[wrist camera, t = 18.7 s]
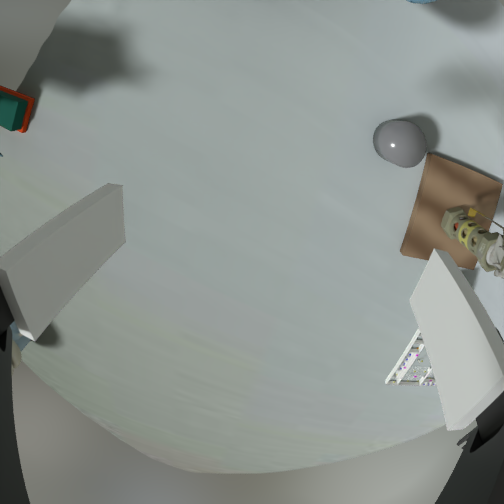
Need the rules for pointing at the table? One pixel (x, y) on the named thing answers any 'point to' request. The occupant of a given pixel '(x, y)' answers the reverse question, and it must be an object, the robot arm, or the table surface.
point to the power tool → (14, 110)
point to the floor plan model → (407, 363)
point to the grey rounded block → (400, 143)
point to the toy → (17, 345)
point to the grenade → (476, 238)
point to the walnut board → (446, 197)
